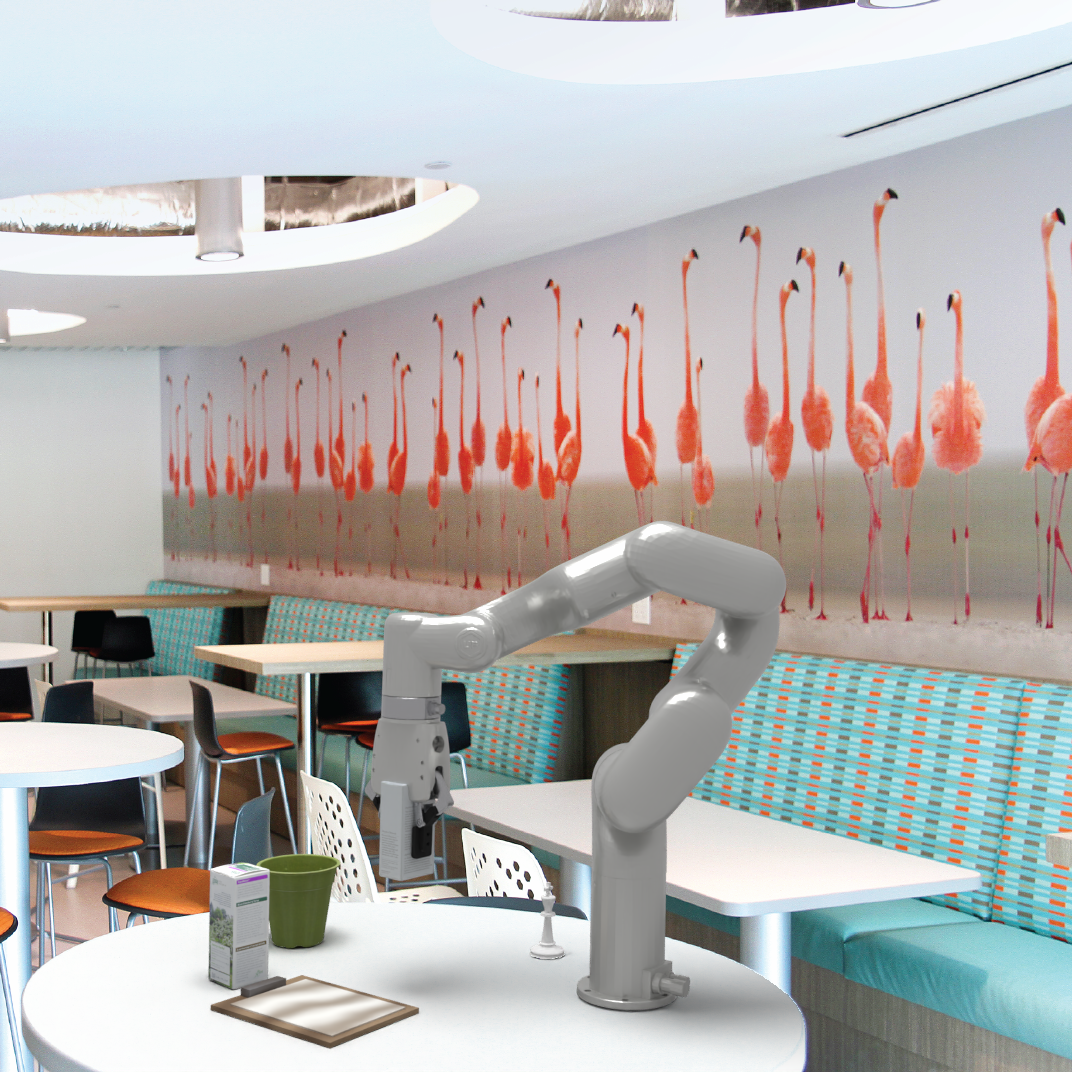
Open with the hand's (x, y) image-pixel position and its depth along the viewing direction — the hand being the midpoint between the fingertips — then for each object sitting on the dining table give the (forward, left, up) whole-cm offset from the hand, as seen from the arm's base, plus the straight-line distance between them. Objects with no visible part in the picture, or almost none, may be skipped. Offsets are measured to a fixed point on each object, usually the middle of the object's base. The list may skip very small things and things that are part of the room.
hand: (406, 852), depth 165 cm
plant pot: (+26, -7, -18) cm, 32 cm away
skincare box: (0, 0, -3) cm, 3 cm away
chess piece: (-5, -25, -18) cm, 31 cm away
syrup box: (+19, +10, -18) cm, 28 cm away
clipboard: (+3, +12, -17) cm, 22 cm away
